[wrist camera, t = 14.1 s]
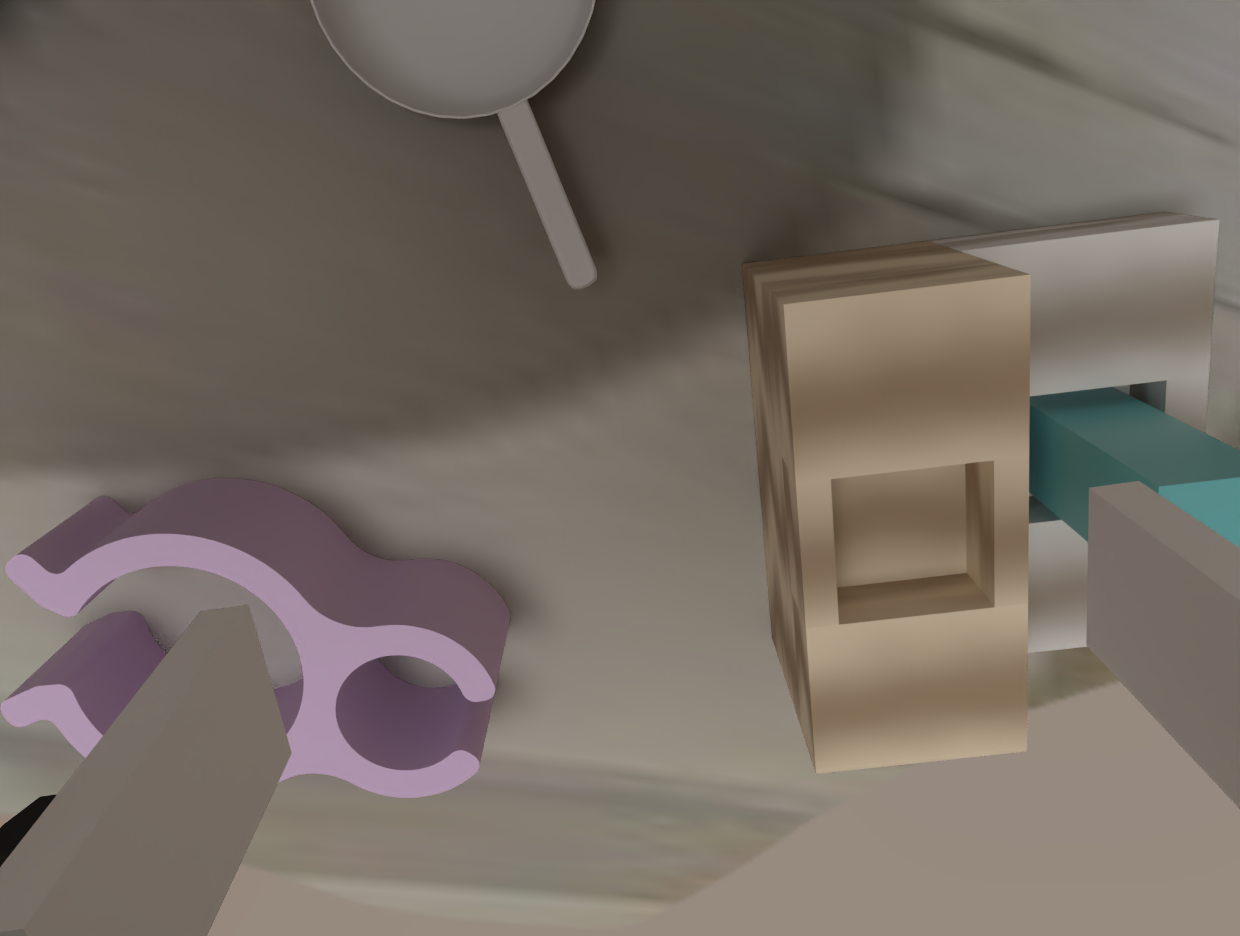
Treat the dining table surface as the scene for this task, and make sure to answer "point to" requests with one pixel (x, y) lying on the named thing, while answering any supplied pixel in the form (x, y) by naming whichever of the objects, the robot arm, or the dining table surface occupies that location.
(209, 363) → the dining table surface
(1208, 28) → the dining table surface
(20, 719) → the clip
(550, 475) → the dining table surface
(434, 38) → the saucepan
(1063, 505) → the plug
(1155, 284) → the socket block
